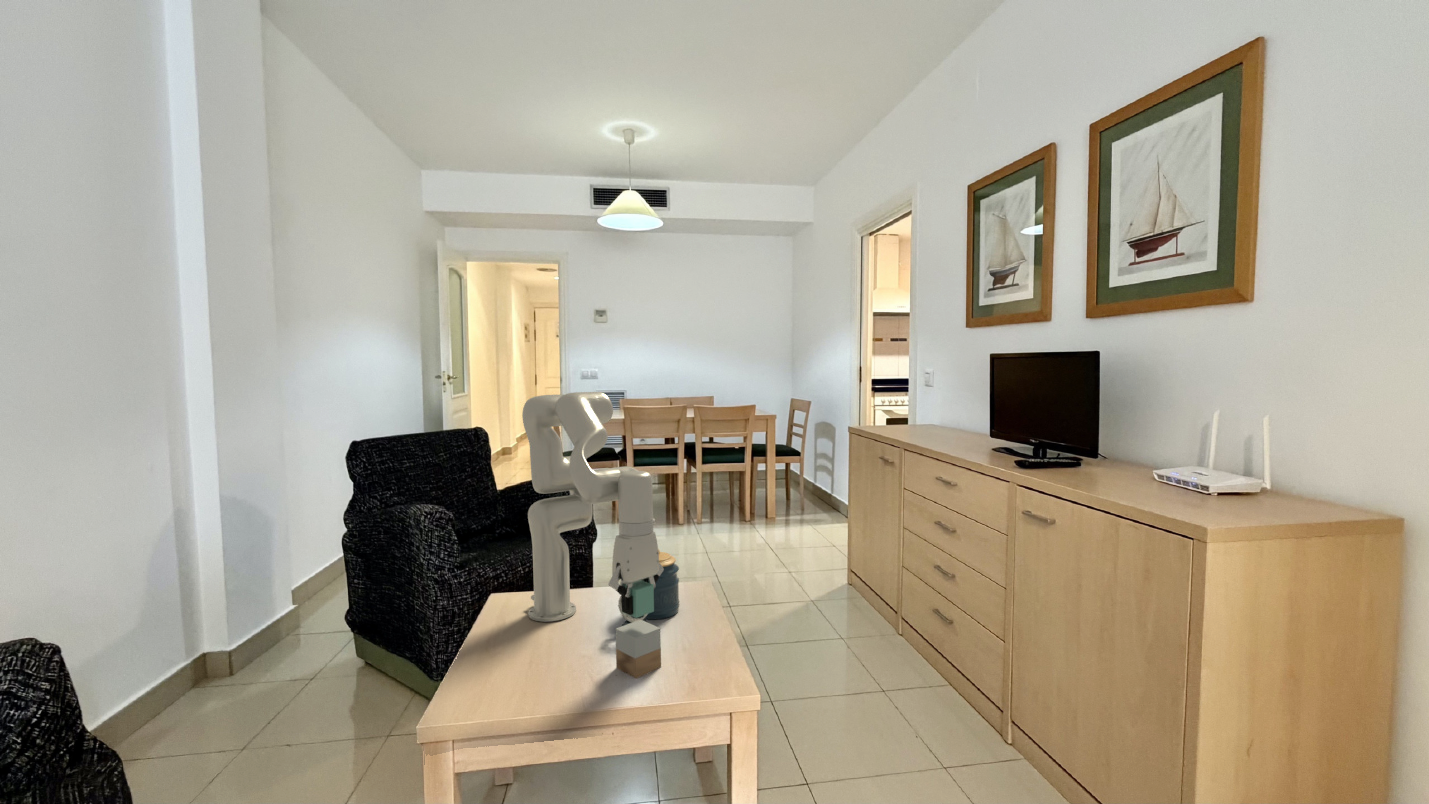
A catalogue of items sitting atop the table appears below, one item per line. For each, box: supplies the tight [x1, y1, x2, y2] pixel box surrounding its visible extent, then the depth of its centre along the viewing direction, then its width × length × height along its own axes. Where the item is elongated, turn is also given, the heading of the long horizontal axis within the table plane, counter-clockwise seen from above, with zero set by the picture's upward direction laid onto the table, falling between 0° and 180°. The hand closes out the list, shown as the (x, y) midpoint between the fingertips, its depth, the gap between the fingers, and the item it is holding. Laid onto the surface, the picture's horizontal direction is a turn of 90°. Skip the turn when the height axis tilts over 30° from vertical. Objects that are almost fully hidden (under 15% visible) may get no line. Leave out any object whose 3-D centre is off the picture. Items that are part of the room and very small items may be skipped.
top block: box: [615, 620, 662, 659], centre depth 136 cm, size 7×7×4 cm
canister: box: [641, 548, 680, 620], centre depth 168 cm, size 13×13×18 cm
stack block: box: [623, 580, 654, 618], centre depth 136 cm, size 5×5×6 cm
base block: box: [615, 648, 662, 679], centre depth 136 cm, size 7×7×4 cm
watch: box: [617, 595, 648, 626], centre depth 154 cm, size 6×8×11 cm
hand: (637, 608), depth 136 cm, fingers closed on stack block, 5 cm apart
